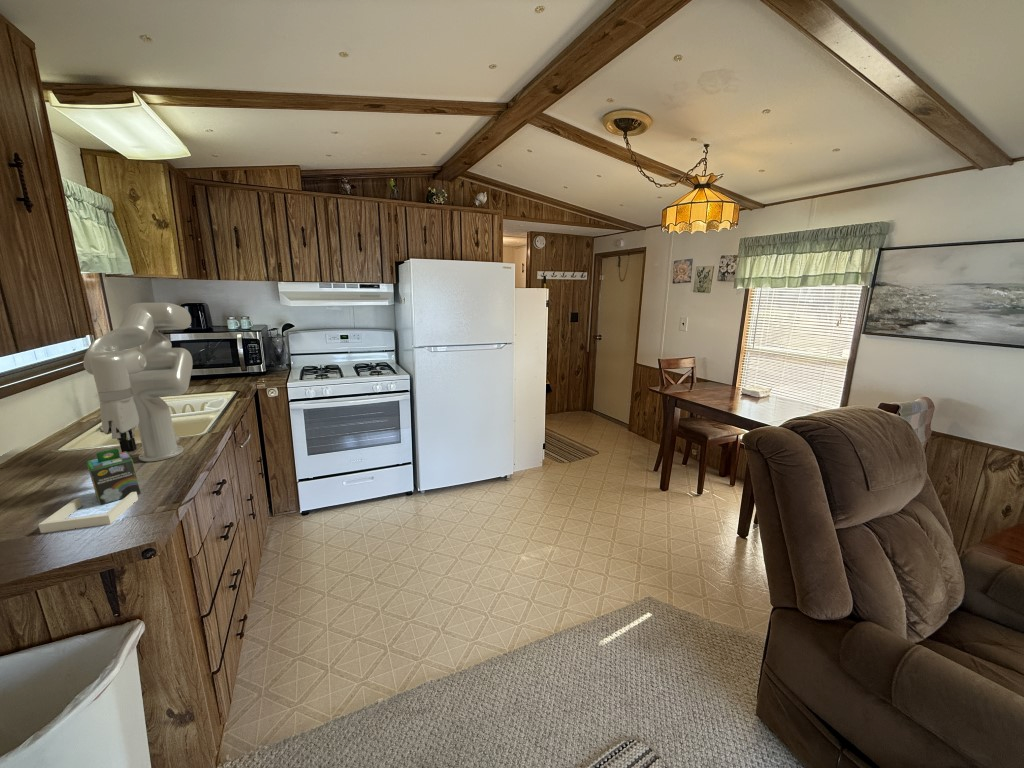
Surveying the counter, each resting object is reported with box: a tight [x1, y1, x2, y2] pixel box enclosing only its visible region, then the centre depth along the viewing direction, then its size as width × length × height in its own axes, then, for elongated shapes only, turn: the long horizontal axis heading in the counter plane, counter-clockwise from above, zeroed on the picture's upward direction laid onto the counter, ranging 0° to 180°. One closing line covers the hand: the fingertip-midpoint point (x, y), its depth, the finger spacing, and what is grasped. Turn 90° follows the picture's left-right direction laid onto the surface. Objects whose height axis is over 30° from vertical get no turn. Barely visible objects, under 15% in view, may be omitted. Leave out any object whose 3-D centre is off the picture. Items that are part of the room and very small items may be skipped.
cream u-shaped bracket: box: [38, 492, 139, 534], centre depth 113 cm, size 13×14×2 cm
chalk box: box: [86, 447, 142, 506], centre depth 122 cm, size 9×9×15 cm
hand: (129, 450), depth 130 cm, fingers closed
